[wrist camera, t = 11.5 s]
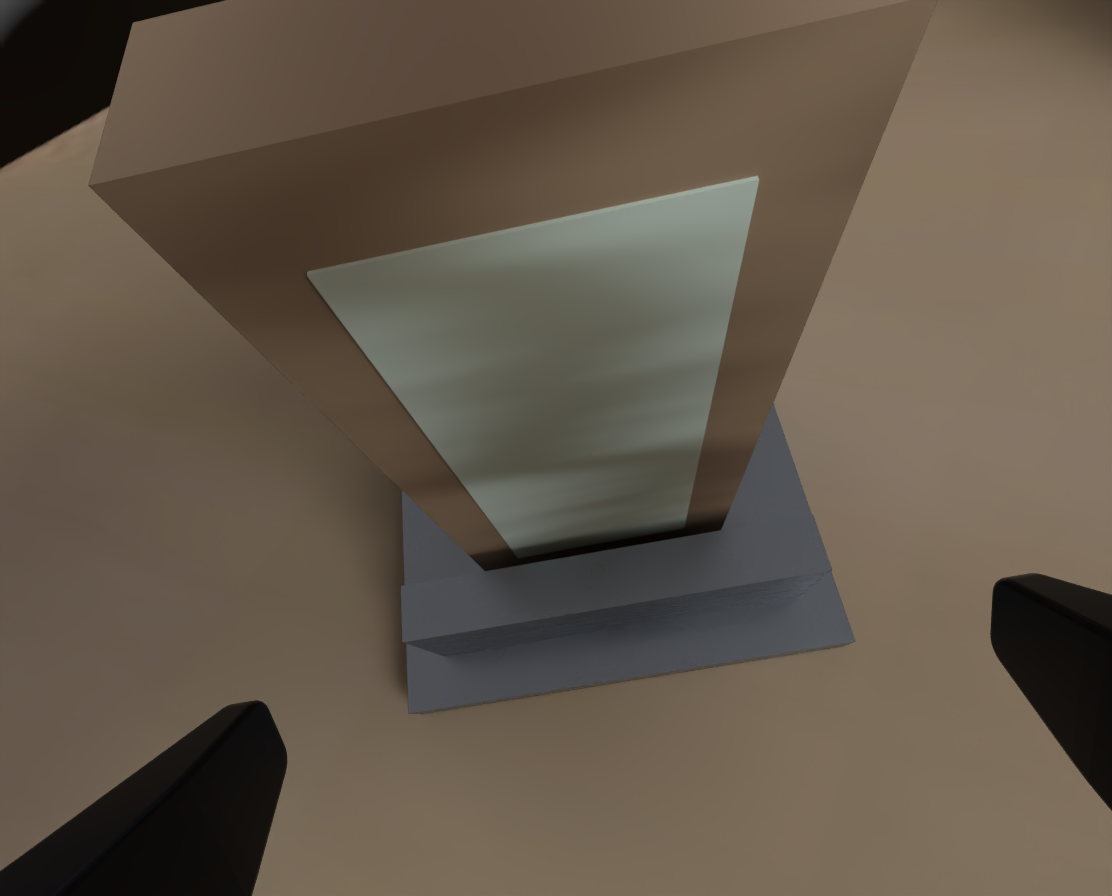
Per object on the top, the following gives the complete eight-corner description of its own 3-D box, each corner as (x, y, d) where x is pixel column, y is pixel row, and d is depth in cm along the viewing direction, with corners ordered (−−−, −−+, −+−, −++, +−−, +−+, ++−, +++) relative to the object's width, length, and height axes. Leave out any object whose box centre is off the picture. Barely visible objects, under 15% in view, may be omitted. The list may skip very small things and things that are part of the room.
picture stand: (753, 380, 19) (780, 297, 15) (842, 646, 15) (905, 622, 12) (411, 444, 19) (358, 380, 16) (421, 714, 16) (356, 711, 12)
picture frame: (697, 468, 17) (833, -151, 5) (717, 541, 16) (944, -3, 4) (486, 508, 17) (132, 19, 5) (494, 581, 16) (86, 190, 4)
